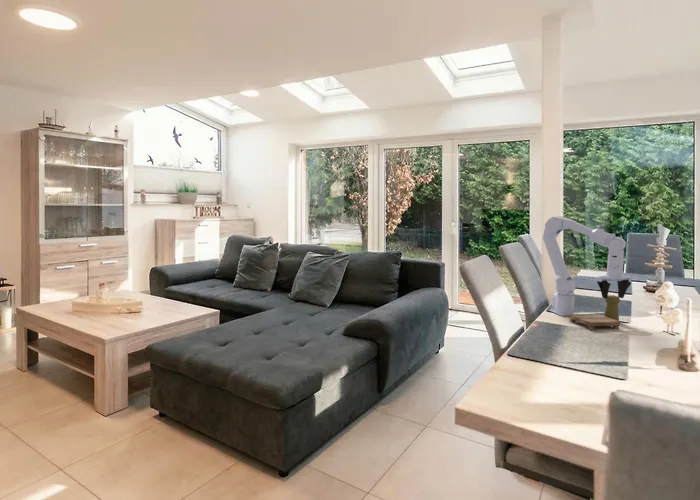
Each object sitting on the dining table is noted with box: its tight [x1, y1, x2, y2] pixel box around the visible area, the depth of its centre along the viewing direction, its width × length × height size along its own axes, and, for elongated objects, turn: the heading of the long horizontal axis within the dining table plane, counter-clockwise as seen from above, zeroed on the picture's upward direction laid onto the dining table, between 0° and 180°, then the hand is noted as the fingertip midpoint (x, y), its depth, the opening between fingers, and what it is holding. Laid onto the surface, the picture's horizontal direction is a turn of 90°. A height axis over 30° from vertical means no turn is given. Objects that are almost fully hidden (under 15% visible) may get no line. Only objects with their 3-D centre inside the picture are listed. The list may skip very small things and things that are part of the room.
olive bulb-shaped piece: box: [603, 294, 621, 321], centre depth 189 cm, size 6×6×11 cm
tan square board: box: [569, 313, 621, 331], centre depth 183 cm, size 13×13×3 cm
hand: (612, 298), depth 189 cm, fingers open, 7 cm apart
